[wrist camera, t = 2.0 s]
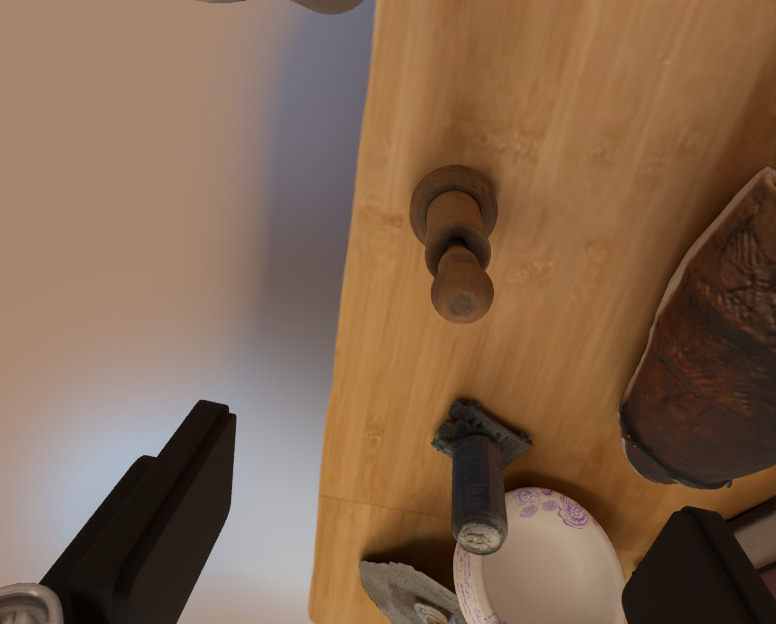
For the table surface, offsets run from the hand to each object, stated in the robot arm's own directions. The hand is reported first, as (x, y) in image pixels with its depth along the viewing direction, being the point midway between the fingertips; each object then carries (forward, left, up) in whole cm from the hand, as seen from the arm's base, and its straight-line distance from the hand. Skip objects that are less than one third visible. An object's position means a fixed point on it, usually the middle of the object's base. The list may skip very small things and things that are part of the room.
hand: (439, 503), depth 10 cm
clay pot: (+24, -6, -31) cm, 40 cm away
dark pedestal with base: (+10, -23, -31) cm, 40 cm away
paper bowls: (+17, -36, -26) cm, 48 cm away
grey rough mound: (+4, -48, -25) cm, 55 cm away
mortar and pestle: (+1, -1, -31) cm, 31 cm away
